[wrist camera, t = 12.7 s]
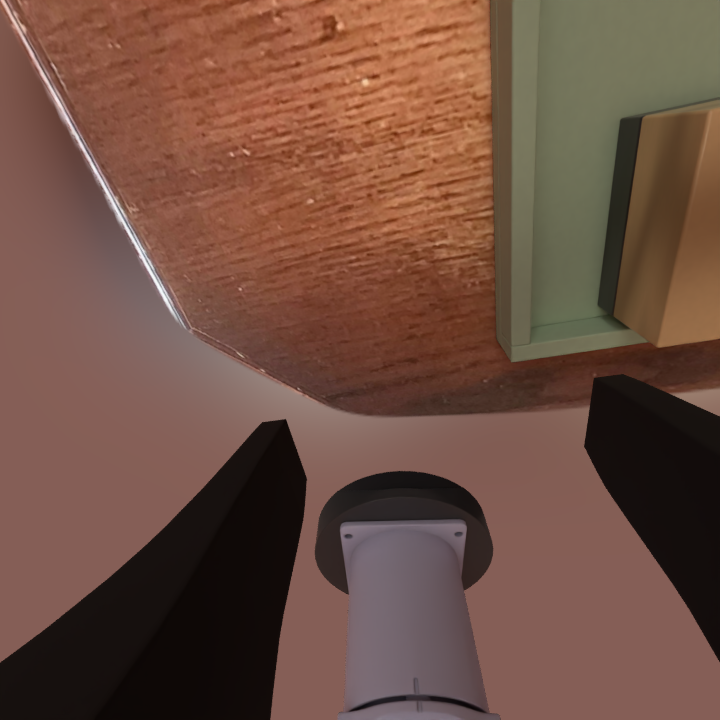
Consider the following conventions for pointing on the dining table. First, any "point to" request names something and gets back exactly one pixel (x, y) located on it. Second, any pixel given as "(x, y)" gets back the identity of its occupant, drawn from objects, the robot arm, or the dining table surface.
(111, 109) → the dining table surface
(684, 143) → the eraser
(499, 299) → the tray
